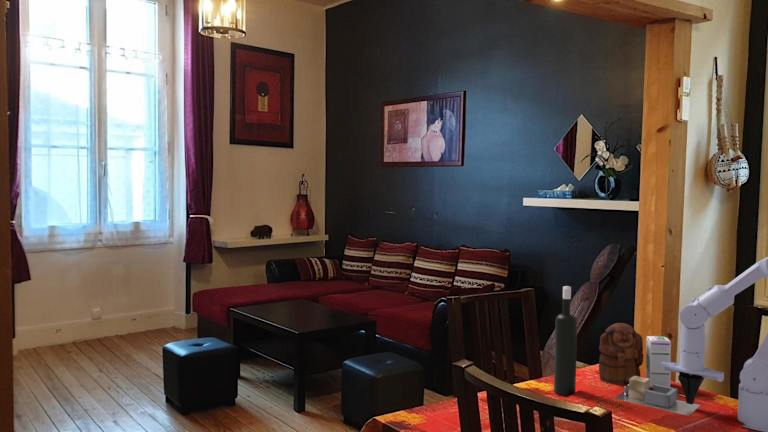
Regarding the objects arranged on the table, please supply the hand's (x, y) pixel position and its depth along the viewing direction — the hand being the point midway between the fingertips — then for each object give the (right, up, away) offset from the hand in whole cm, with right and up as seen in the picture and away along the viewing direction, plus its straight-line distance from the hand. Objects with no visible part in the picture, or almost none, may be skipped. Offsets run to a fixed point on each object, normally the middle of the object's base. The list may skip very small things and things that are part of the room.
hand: (690, 402), depth 163 cm
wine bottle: (-28, -2, +15) cm, 32 cm away
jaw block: (-10, -1, +9) cm, 13 cm away
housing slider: (-5, -1, +5) cm, 7 cm away
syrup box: (0, -2, +19) cm, 19 cm away
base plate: (-7, -2, +5) cm, 9 cm away
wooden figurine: (-9, -1, +22) cm, 24 cm away
